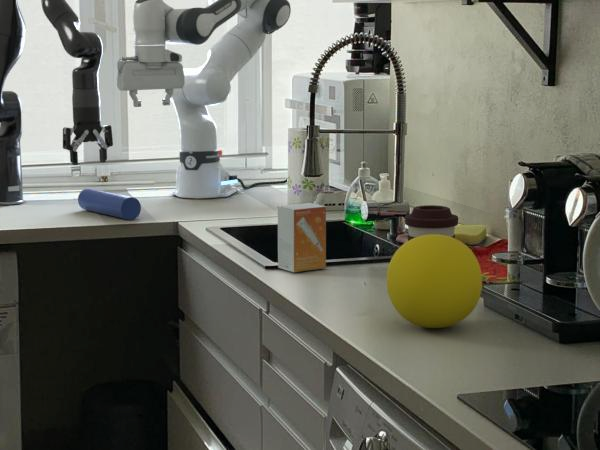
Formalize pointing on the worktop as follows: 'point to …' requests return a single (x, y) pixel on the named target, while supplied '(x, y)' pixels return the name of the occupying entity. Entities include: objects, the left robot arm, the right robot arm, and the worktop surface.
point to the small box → (301, 237)
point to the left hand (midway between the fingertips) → (88, 163)
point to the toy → (434, 281)
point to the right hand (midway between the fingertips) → (152, 106)
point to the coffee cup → (431, 221)
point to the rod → (109, 204)
